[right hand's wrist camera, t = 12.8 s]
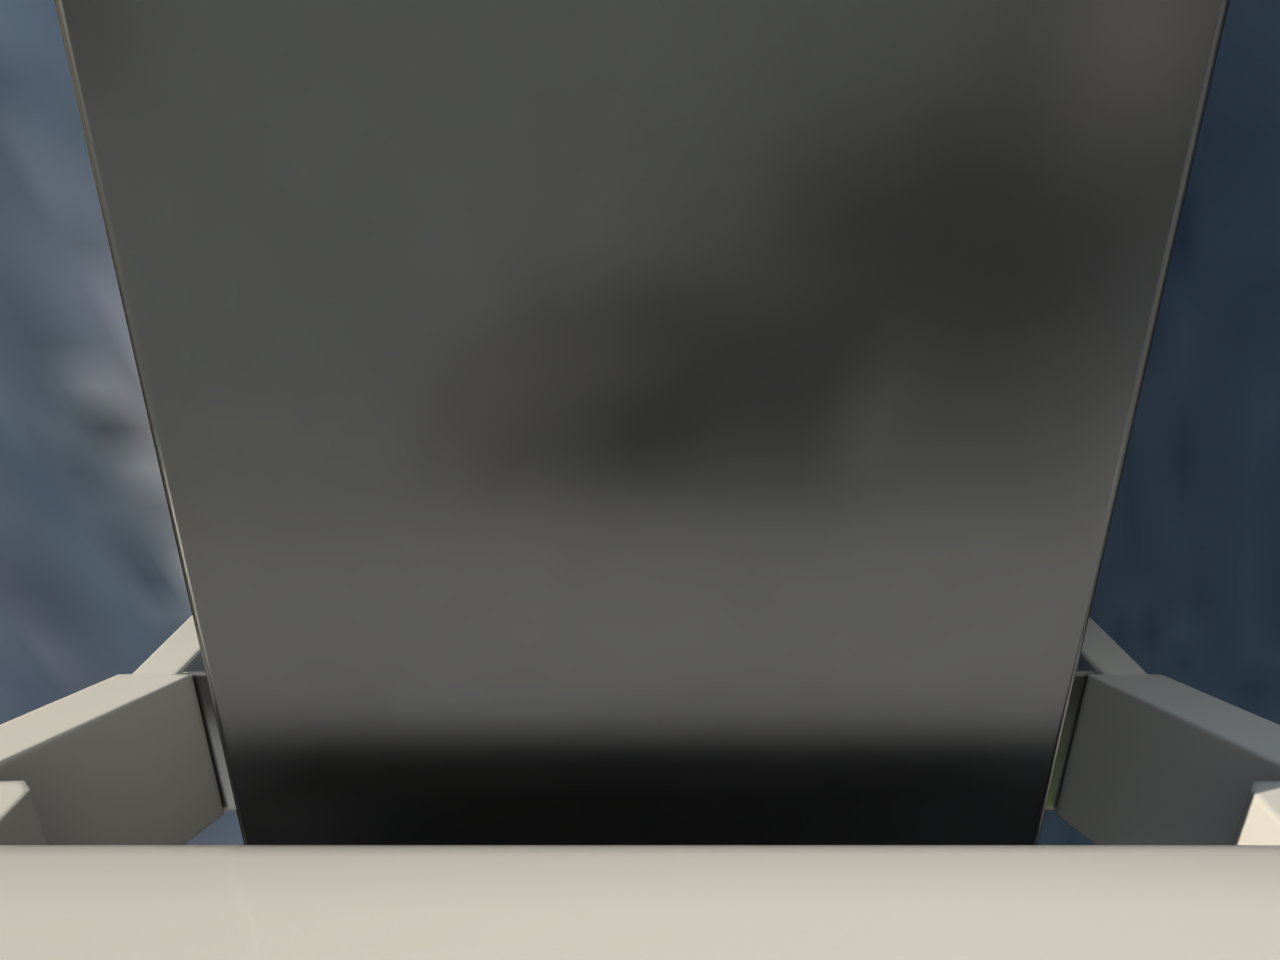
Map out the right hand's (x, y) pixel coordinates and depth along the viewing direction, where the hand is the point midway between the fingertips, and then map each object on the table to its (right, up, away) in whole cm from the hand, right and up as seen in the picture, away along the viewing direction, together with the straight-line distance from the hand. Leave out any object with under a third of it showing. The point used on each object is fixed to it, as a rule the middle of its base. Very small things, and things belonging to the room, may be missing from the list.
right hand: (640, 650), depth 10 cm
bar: (0, +8, +2) cm, 8 cm away
